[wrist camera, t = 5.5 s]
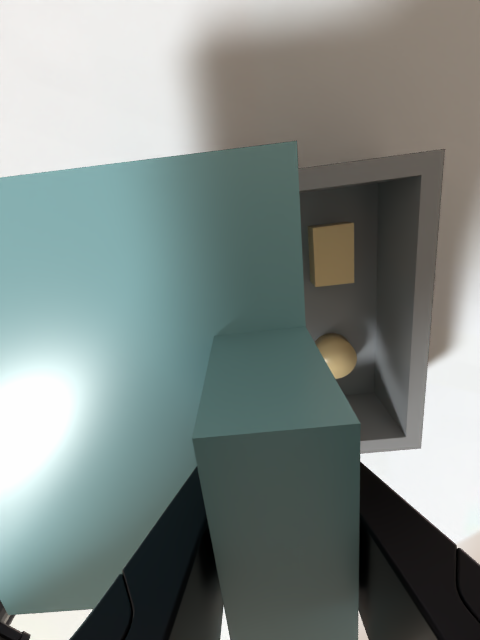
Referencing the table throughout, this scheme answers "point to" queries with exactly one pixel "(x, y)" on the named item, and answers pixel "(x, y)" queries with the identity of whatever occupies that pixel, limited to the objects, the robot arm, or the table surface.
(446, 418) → the table surface
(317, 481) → the lid
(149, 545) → the robot arm
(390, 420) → the tub
